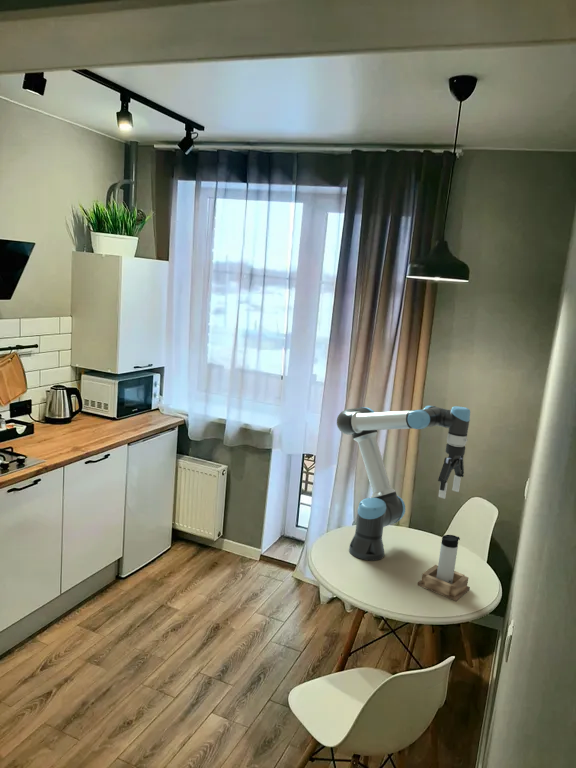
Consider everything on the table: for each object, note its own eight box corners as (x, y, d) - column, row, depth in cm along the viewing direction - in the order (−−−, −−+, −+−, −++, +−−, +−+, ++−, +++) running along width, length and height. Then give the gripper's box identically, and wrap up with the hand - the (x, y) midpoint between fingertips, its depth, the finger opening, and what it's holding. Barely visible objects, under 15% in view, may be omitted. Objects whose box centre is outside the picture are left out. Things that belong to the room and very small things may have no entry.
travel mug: (453, 589, 221) (460, 541, 218) (436, 586, 222) (442, 538, 219) (452, 582, 227) (459, 534, 224) (435, 579, 228) (441, 531, 225)
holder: (417, 585, 224) (418, 573, 223) (432, 574, 235) (434, 562, 234) (455, 601, 214) (457, 589, 213) (470, 589, 225) (472, 577, 224)
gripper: (452, 450, 221) (444, 503, 224) (476, 442, 241) (469, 491, 244) (434, 446, 226) (426, 497, 229) (459, 438, 245) (452, 486, 248)
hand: (448, 494), depth 236 cm, fingers open, 13 cm apart
